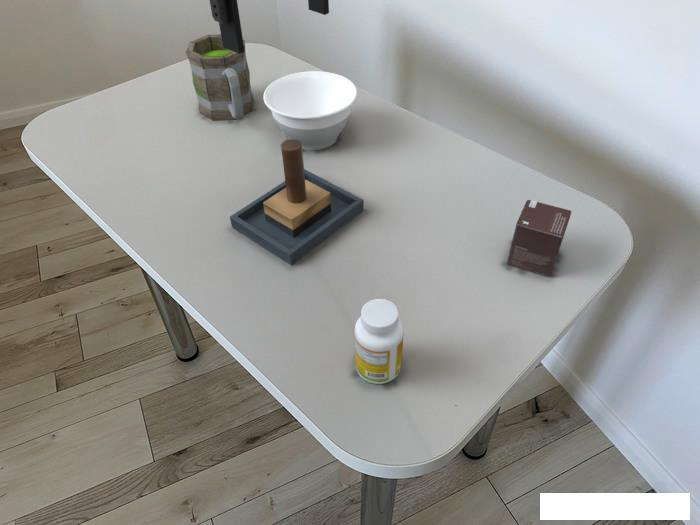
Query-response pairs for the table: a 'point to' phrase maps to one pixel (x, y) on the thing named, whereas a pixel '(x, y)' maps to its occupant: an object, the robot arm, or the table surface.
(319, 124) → the bowl
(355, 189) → the table surface
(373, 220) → the table surface
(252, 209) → the tray
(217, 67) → the mug
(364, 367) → the supplement bottle
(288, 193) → the peg on wooden base
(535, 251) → the box
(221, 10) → the robot arm
